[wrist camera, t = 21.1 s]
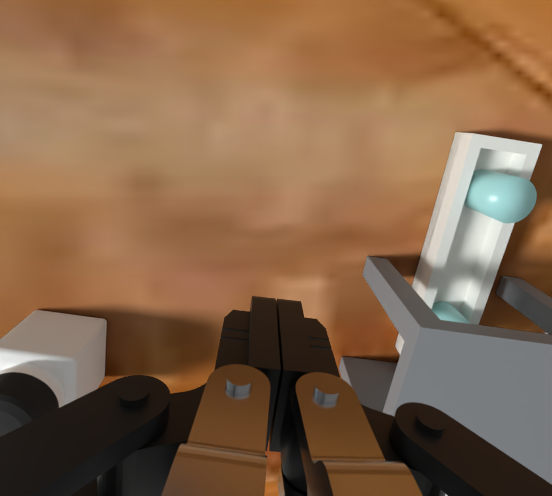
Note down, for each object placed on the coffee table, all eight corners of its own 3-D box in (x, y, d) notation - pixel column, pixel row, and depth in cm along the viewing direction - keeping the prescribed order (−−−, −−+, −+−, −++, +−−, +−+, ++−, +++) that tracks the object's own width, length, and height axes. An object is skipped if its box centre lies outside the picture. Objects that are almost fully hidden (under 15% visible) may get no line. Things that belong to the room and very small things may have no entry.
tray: (455, 132, 34) (495, 135, 28) (519, 142, 35) (571, 147, 29) (395, 346, 41) (417, 384, 35) (449, 352, 41) (479, 391, 36)
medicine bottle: (34, 308, 38) (-62, 388, 27) (108, 317, 39) (43, 400, 28) (36, 368, 41) (-53, 466, 29) (105, 376, 41) (45, 475, 30)
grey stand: (367, 255, 38) (420, 327, 25) (520, 278, 39) (647, 357, 26) (338, 368, 42) (372, 479, 29) (478, 385, 43) (570, 498, 30)
